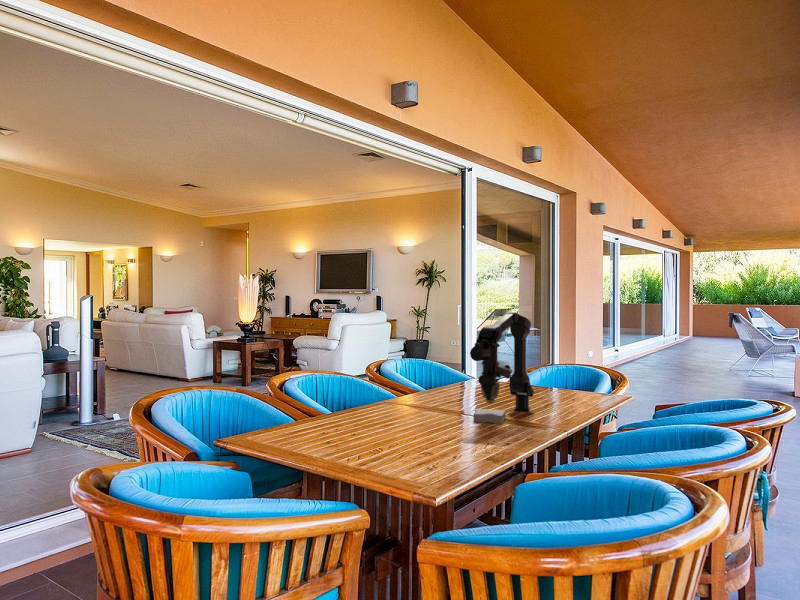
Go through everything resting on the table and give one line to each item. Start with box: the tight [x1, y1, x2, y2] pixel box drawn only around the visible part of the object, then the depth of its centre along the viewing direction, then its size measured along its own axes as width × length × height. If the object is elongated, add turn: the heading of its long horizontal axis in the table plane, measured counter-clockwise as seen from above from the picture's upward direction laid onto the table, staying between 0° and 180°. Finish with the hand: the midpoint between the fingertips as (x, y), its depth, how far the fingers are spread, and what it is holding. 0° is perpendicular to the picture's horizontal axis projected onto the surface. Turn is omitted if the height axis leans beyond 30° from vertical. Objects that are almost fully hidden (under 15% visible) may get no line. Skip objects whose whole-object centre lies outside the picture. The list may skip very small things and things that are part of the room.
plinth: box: [473, 408, 507, 424], centre depth 227 cm, size 11×11×3 cm
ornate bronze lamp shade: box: [480, 382, 501, 404], centre depth 227 cm, size 8×7×8 cm
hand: (490, 398), depth 227 cm, fingers closed on ornate bronze lamp shade, 6 cm apart
